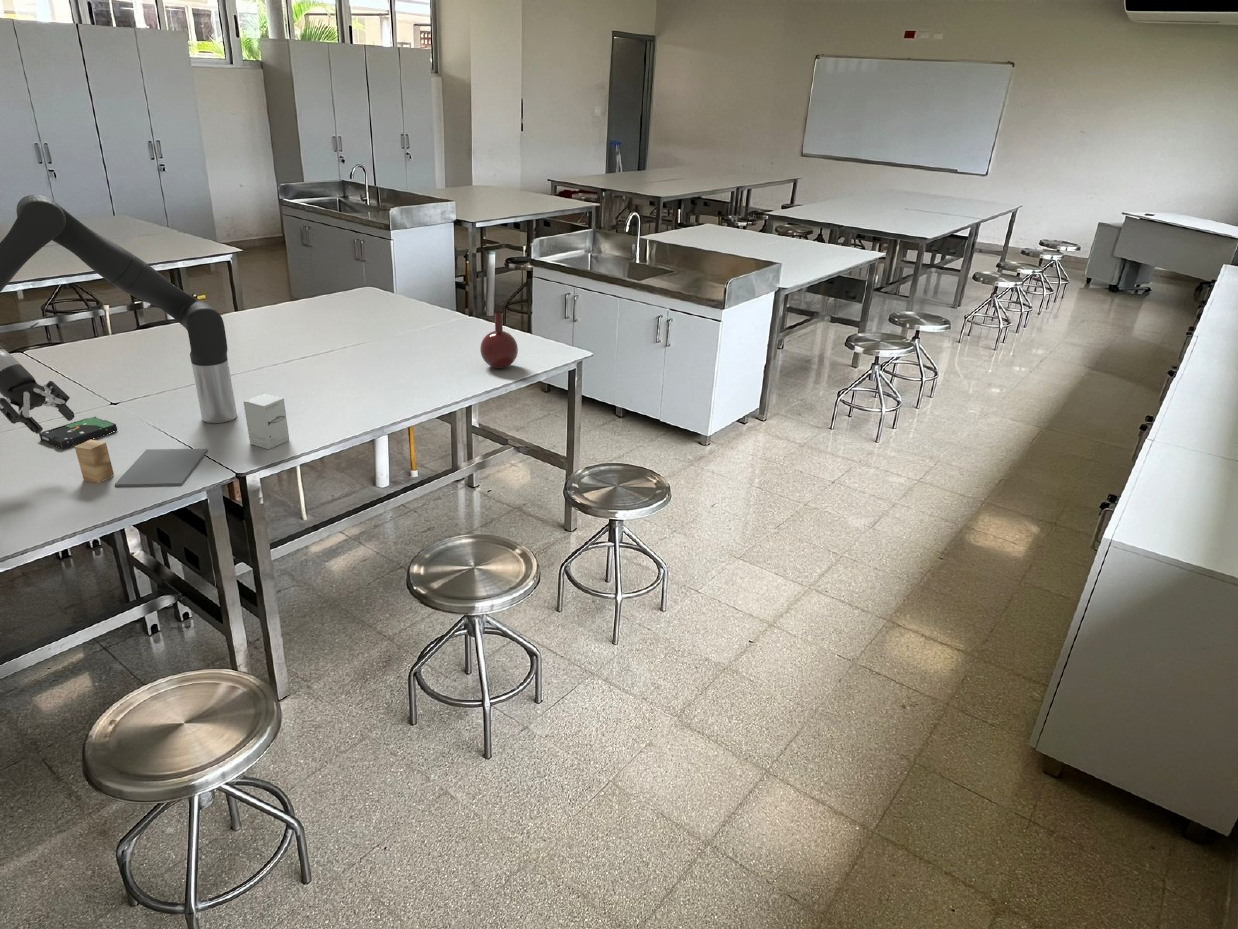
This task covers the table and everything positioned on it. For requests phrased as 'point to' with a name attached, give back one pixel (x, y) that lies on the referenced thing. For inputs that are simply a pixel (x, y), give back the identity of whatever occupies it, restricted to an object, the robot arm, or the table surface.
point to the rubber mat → (162, 467)
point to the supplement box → (266, 421)
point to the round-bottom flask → (499, 346)
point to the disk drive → (77, 432)
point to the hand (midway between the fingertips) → (56, 425)
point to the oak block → (94, 461)
